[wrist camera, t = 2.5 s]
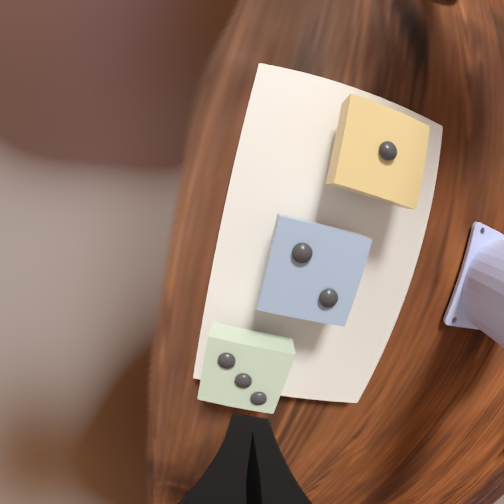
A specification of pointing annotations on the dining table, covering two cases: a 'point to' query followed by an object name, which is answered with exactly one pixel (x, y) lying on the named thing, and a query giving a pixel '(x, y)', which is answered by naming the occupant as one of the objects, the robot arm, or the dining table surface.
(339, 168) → the tile one
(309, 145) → the panel
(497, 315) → the robot arm
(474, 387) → the dining table surface
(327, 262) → the tile two
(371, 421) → the dining table surface
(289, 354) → the tile three
